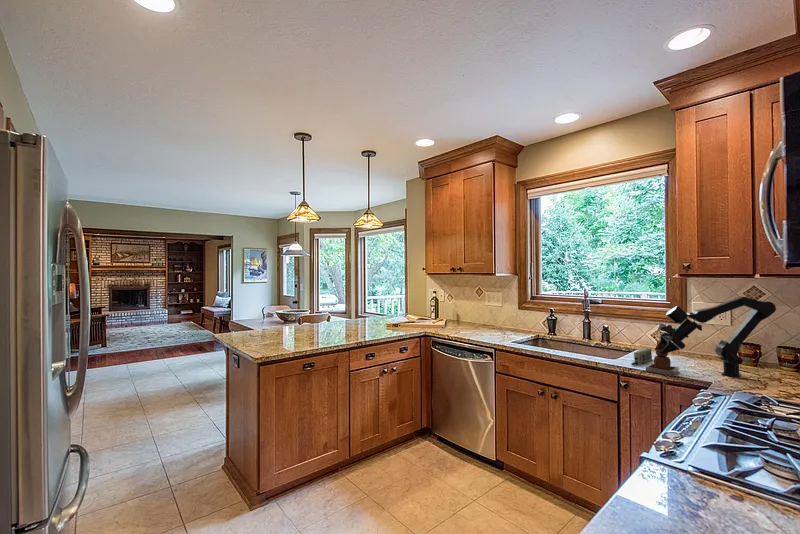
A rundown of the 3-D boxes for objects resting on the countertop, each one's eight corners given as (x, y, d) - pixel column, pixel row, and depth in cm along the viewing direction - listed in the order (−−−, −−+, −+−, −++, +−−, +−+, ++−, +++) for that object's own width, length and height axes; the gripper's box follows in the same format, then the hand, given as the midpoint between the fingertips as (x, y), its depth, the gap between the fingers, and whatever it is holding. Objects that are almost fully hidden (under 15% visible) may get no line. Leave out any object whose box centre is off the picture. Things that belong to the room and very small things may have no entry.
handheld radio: (653, 360, 217) (636, 367, 201) (646, 359, 219) (629, 366, 203) (652, 348, 217) (635, 354, 201) (645, 347, 220) (628, 353, 204)
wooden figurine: (654, 372, 189) (653, 341, 190) (653, 369, 194) (652, 339, 195) (671, 373, 186) (670, 342, 186) (670, 370, 191) (668, 340, 191)
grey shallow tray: (651, 367, 198) (651, 363, 198) (678, 371, 190) (678, 367, 190) (645, 371, 191) (645, 367, 191) (673, 375, 182) (673, 371, 182)
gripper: (663, 316, 198) (639, 337, 202) (676, 320, 181) (649, 342, 184) (682, 332, 196) (657, 352, 199) (696, 337, 178) (669, 360, 181)
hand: (658, 351), depth 191 cm, fingers open, 9 cm apart
